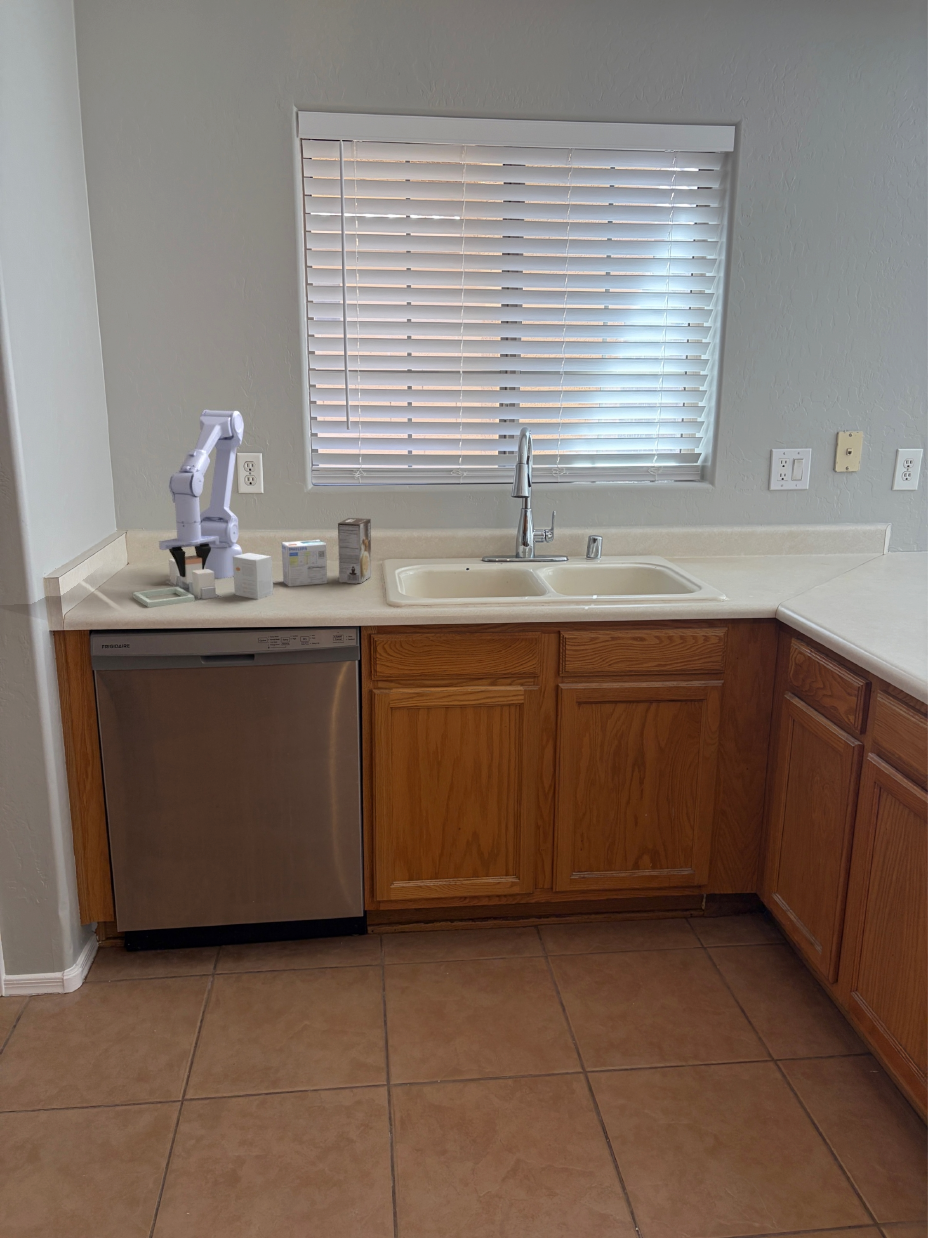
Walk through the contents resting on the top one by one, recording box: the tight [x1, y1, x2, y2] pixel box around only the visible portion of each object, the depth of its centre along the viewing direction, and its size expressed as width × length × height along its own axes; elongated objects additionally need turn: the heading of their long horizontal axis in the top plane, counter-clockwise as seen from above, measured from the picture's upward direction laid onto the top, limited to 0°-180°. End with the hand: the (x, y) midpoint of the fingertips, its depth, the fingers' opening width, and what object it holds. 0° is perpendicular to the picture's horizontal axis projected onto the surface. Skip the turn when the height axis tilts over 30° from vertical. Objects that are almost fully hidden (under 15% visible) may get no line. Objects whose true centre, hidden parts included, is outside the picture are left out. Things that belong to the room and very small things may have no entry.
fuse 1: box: [168, 558, 180, 585], centre depth 237 cm, size 4×4×6 cm
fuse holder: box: [165, 575, 221, 601], centre depth 231 cm, size 6×23×3 cm, turn 37°
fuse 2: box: [192, 568, 216, 598], centre depth 224 cm, size 4×4×6 cm
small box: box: [233, 552, 274, 600], centre depth 226 cm, size 8×6×10 cm
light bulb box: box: [281, 539, 328, 588], centre depth 242 cm, size 11×7×11 cm, turn 115°
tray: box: [132, 586, 196, 608], centre depth 221 cm, size 11×11×2 cm
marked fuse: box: [181, 554, 202, 584], centre depth 230 cm, size 4×4×6 cm
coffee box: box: [337, 517, 372, 584], centre depth 246 cm, size 9×6×16 cm
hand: (191, 575), depth 230 cm, fingers closed on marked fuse, 4 cm apart
